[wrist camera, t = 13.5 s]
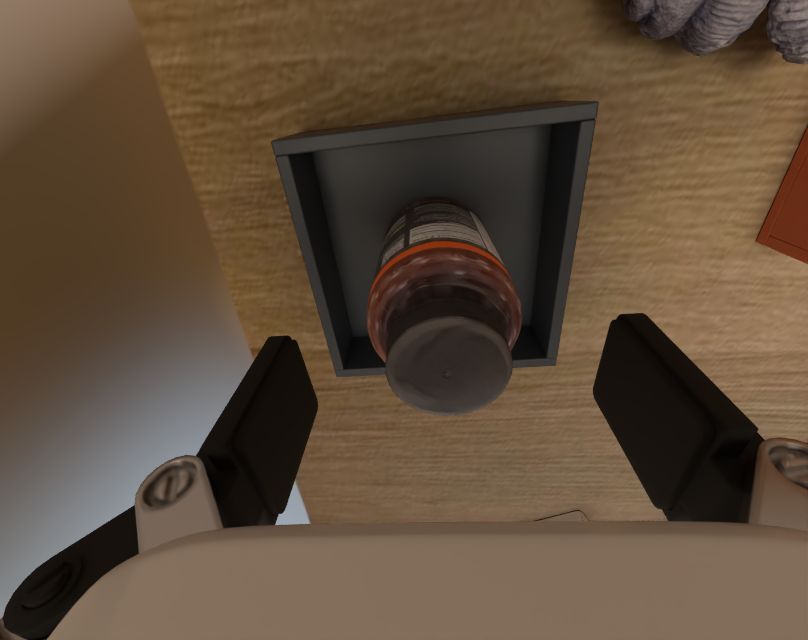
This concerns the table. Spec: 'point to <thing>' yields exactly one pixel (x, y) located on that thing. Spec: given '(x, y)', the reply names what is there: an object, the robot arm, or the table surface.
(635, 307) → the table surface
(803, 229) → the terracotta bin
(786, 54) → the grey curved ribbed piece
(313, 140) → the slate bin
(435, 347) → the supplement bottle
